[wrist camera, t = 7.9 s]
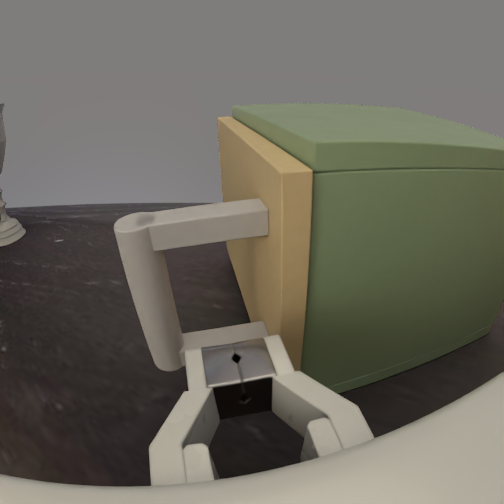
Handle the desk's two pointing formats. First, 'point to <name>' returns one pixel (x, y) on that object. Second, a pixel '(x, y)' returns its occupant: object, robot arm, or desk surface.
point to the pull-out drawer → (230, 249)
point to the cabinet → (392, 235)
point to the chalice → (8, 227)
